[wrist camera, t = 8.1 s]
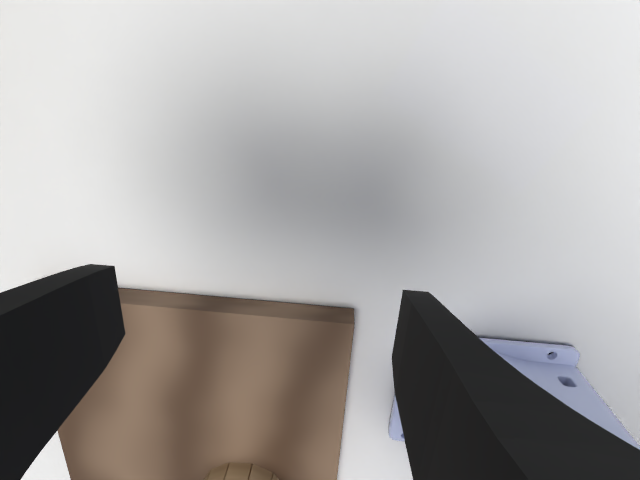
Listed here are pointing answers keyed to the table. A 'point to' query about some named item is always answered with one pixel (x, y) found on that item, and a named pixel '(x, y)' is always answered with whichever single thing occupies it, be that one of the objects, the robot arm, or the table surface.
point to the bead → (240, 472)
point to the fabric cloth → (215, 391)
